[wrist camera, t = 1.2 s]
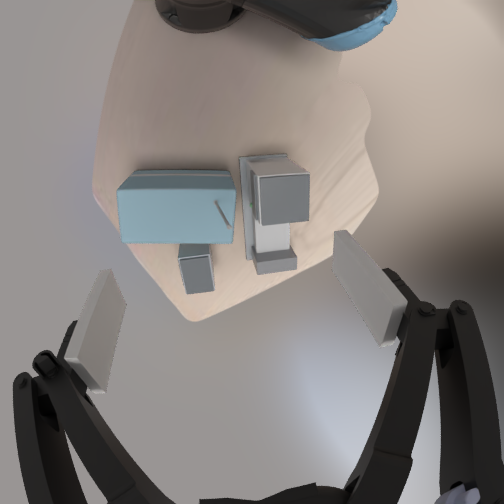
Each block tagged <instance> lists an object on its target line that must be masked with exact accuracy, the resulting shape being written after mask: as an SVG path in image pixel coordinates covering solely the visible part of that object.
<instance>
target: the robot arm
mask: <svg viewBox="0 0 504 504" xmlns="http://www.w3.org/2000/svg"><path fill="white" fill-rule="evenodd" d="M155 4H156V8H157V10H158V12H159V14H160V16H161V17H162V18H163V20H164V21H165V22H166V23H168V24H169V25H170V26H172V27H174V28H176V29H178V30H181V31H185V32H190V33H208V32H214V31H217V30H221V29H223V28H226V27H228V26H230V25H231V24H233V23H234V22H236V21H237V20H238V19H239V18H240V17H241V16H242V15H243V14H244V13H245V11H246V10H249V11H252V12H254V13H256V14H259V15H261V16H263V17H265V18H268V19H270V20H272V21H274V22H276V23H278V24H280V25H282V26H284V27H286V28H288V29H290V30H292V31H294V32H296V33H298V34H300V36H301V37H303V38H304V39H307V40H309V41H313V42H315V43H317V44H319V45H321V46H323V47H325V48H327V49H329V50H333V51H346V50H351V49H354V48H357V47H359V46H361V45H363V44H365V43H367V42H368V41H370V40H372V39H373V38H375V37H376V36H377V35H378V34H380V33H381V32H382V31H383V26H385V25H388V24H390V22H391V21H392V20H393V18H394V16H395V14H396V12H397V2H396V0H155ZM332 271H333V272H334V274H335V275H336V277H337V279H338V280H339V282H340V283H341V285H342V286H343V288H344V289H345V291H346V293H347V294H348V296H349V297H350V299H351V301H352V302H353V304H354V305H355V307H356V309H357V310H358V312H359V313H360V315H361V317H362V318H363V320H364V322H365V323H366V325H367V327H368V328H369V330H370V332H371V333H372V335H373V337H374V338H375V340H376V342H377V343H378V345H379V347H380V348H383V347H385V346H388V345H391V344H393V343H394V341H395V338H396V336H397V337H398V338H399V340H400V344H399V346H398V348H397V351H396V353H395V355H396V358H395V361H394V366H393V369H392V372H391V376H390V379H389V382H388V385H387V389H386V392H385V395H384V398H383V401H382V404H381V406H380V409H379V412H378V415H377V417H376V420H375V423H374V425H373V428H372V431H371V433H370V436H369V438H368V440H367V443H366V445H365V447H364V450H363V452H362V454H361V457H360V459H359V461H358V463H357V465H356V467H355V469H354V470H353V472H352V474H351V475H350V477H349V479H348V481H347V483H346V485H345V487H344V489H339V488H336V487H330V486H316V483H311V484H308V485H303V486H300V487H295V488H291V489H286V490H284V491H282V492H280V493H277V494H275V495H272V496H270V497H268V498H265V499H262V500H259V501H252V500H242V499H233V498H219V499H200V504H397V503H398V501H399V498H400V496H401V494H402V491H403V489H404V486H405V484H406V481H407V478H408V476H409V473H410V470H411V467H412V462H413V459H412V458H411V453H412V450H413V447H414V443H415V440H416V437H417V433H418V430H419V426H420V422H421V418H422V414H423V410H424V406H425V401H426V397H427V392H428V386H429V381H430V376H431V370H432V364H433V356H434V350H435V357H436V366H437V374H438V385H439V396H440V416H441V457H440V481H439V484H440V495H441V496H440V497H439V498H438V499H437V500H436V502H435V504H504V465H503V461H502V459H501V440H500V429H499V419H498V411H497V404H496V399H495V392H494V387H493V382H492V377H491V372H490V368H489V364H488V359H487V355H486V352H485V348H484V344H483V340H482V337H481V334H480V330H479V327H478V324H477V321H476V318H475V315H474V312H473V309H472V307H471V306H470V305H469V304H468V303H467V302H465V301H462V300H455V301H453V302H452V303H451V305H450V307H449V309H436V308H435V306H434V305H432V304H431V303H428V302H424V301H420V300H419V299H418V298H417V296H416V295H415V294H414V293H413V292H412V290H411V289H410V288H409V287H408V286H407V285H406V284H405V282H404V281H403V280H401V278H400V277H399V275H398V274H397V273H395V272H394V271H392V270H391V269H389V268H386V269H381V268H380V267H379V266H378V265H377V264H376V263H375V262H374V260H373V259H372V258H371V257H370V256H369V255H368V253H367V252H366V251H365V250H364V249H363V248H362V247H361V246H360V244H359V243H358V242H357V241H356V240H355V239H354V238H353V237H352V236H351V234H350V233H349V232H348V231H347V230H341V231H334V248H333V265H332ZM126 305H127V304H126V302H125V300H124V298H123V295H122V293H121V291H120V289H119V286H118V284H117V282H116V279H115V278H114V275H113V272H112V270H111V269H108V270H102V271H100V272H99V274H98V277H97V278H96V281H95V283H94V285H93V287H92V289H91V291H90V294H89V296H88V298H87V300H86V303H85V305H84V307H83V310H82V312H81V315H80V317H79V319H78V320H76V321H73V322H72V324H71V325H70V326H69V327H68V329H67V332H66V334H65V337H64V339H63V343H62V344H61V347H60V349H59V352H58V355H57V358H56V357H55V356H54V354H53V353H52V352H51V351H49V350H44V351H42V352H40V353H39V354H38V355H37V356H36V357H35V358H34V361H33V365H32V366H33V369H34V370H35V371H36V372H37V373H38V374H39V376H37V377H34V378H32V377H31V376H30V375H29V373H27V372H23V373H21V374H19V375H18V376H17V377H16V378H15V380H14V382H13V408H14V422H15V433H16V442H17V449H18V456H19V462H20V467H21V473H22V477H23V482H24V486H25V490H26V494H27V498H28V502H29V504H88V503H87V501H86V499H85V496H84V493H83V491H82V488H81V485H80V482H79V480H78V477H77V474H76V471H75V468H74V464H73V461H72V458H71V454H70V451H69V447H68V443H67V439H66V435H65V432H66V434H67V435H68V438H69V440H70V441H71V443H72V445H73V447H74V449H75V451H76V452H77V454H78V456H79V458H80V459H81V461H82V463H83V464H84V466H85V467H86V469H87V471H88V472H89V474H90V476H91V477H92V478H93V480H94V481H95V483H96V485H97V486H98V488H99V489H100V490H101V492H102V493H103V495H104V496H105V497H106V499H107V501H108V503H107V504H175V503H174V502H173V501H172V500H170V499H169V498H168V497H166V496H165V495H164V494H163V493H162V492H161V491H160V490H159V489H158V488H157V486H156V485H155V484H154V483H153V482H152V481H151V480H150V479H149V478H148V477H147V475H146V474H145V473H144V472H143V471H142V470H141V468H140V467H139V466H138V465H137V464H136V462H135V461H134V460H133V459H132V457H131V456H130V455H129V454H128V452H127V451H126V450H125V449H124V447H123V446H122V445H121V443H120V442H119V440H118V439H117V438H116V436H115V435H114V434H113V432H112V431H111V429H110V428H109V426H108V425H107V424H106V422H105V421H104V419H103V418H102V416H101V415H100V413H99V411H98V410H97V408H96V407H95V405H94V404H93V402H92V400H91V399H90V397H89V396H88V395H87V394H86V390H87V387H88V388H89V389H90V390H91V391H92V392H93V393H106V391H107V385H108V380H109V375H110V370H111V366H112V361H113V357H114V352H115V347H116V344H117V339H118V335H119V332H120V327H121V324H122V320H123V316H124V312H125V309H126ZM64 430H65V431H64Z"/></svg>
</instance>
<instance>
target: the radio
mask: <svg viewBox="0 0 504 504" xmlns="http://www.w3.org/2000/svg"><path fill="white" fill-rule="evenodd" d="M117 204H118V215H119V225H120V234H121V241H122V243H194V244H231V243H232V242H233V233H234V219H235V206H236V187H235V185H234V182H233V180H232V177H231V174H230V172H229V171H219V170H141V171H134V172H133V173H132V174H131V175H130V176H129V177H128V178H127V179H126V180H125V182H124V183H123V184H122V185H121V186H120V187H119V188H118V189H117Z"/></svg>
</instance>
